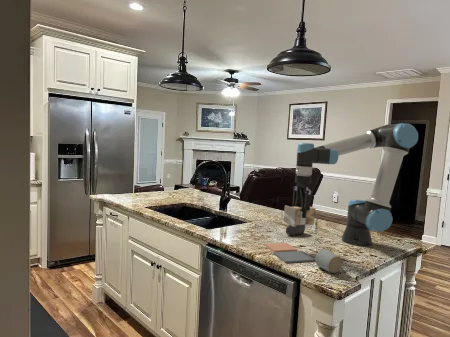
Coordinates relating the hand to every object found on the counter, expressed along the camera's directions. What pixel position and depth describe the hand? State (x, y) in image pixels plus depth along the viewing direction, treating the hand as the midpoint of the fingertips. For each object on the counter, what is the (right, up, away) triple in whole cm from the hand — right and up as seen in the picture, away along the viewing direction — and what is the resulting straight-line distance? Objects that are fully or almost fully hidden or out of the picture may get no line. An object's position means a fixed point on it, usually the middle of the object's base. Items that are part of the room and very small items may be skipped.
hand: (299, 222), depth 157 cm
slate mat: (-5, -13, -13) cm, 19 cm away
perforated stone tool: (+3, -11, +26) cm, 28 cm away
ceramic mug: (+7, -15, -25) cm, 30 cm away
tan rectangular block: (+1, 0, 0) cm, 1 cm away
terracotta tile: (-4, -12, 0) cm, 13 cm away
